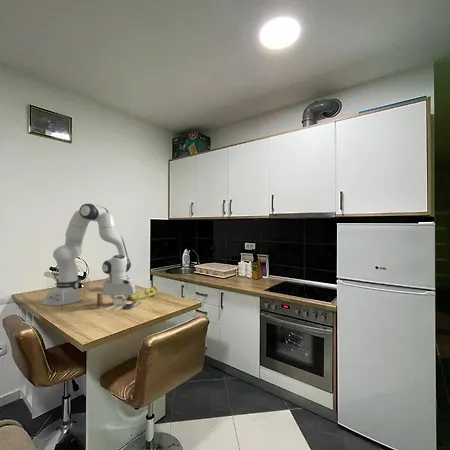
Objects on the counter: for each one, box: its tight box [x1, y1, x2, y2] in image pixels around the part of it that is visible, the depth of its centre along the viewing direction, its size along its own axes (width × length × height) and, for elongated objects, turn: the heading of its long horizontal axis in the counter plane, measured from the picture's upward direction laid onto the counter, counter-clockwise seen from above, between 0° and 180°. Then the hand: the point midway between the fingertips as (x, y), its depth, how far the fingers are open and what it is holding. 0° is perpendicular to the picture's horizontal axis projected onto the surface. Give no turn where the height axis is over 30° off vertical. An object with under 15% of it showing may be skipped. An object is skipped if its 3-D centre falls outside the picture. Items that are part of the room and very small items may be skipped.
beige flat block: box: [103, 301, 143, 311], centre depth 157 cm, size 18×16×3 cm
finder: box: [112, 295, 125, 305], centre depth 161 cm, size 6×5×4 cm
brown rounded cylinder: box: [96, 292, 104, 310], centre depth 152 cm, size 3×3×10 cm
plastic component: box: [126, 285, 159, 302], centre depth 176 cm, size 20×7×10 cm
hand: (119, 301), depth 161 cm, fingers closed on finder, 5 cm apart
